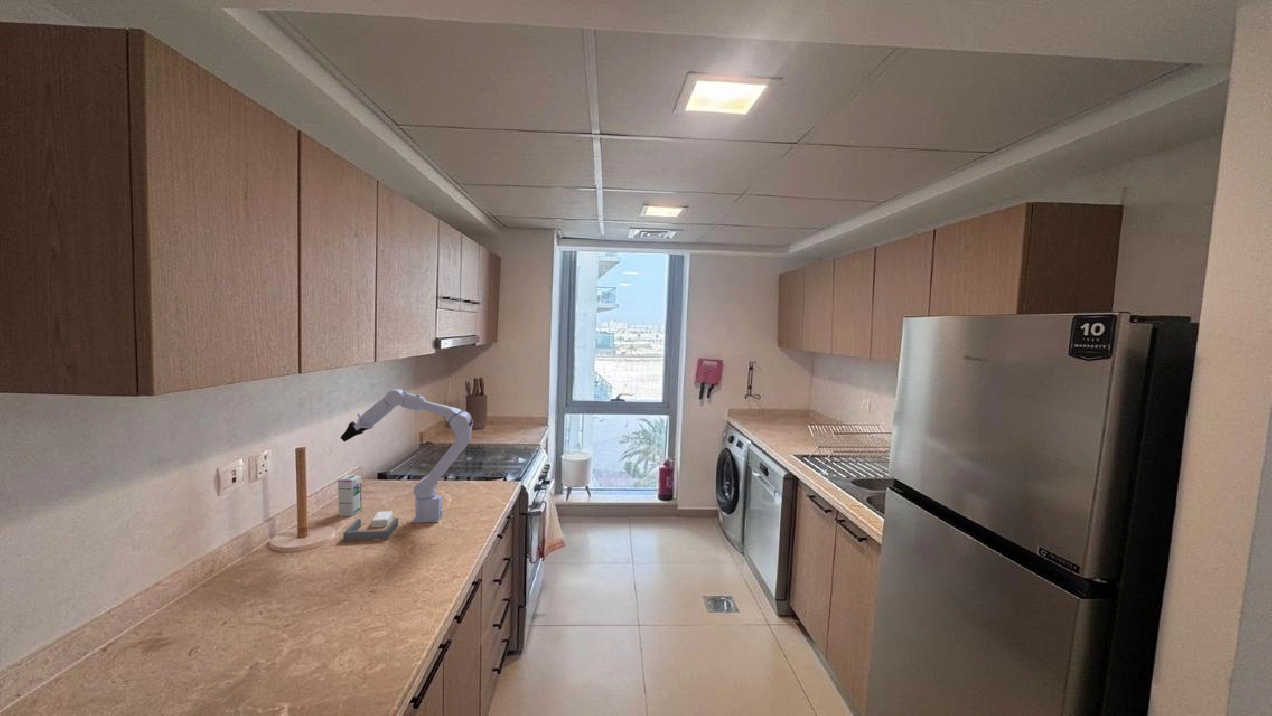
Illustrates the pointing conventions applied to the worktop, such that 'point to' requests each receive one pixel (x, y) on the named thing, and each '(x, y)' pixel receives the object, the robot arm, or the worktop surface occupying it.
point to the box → (368, 532)
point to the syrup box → (349, 495)
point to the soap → (382, 519)
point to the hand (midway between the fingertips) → (347, 437)
